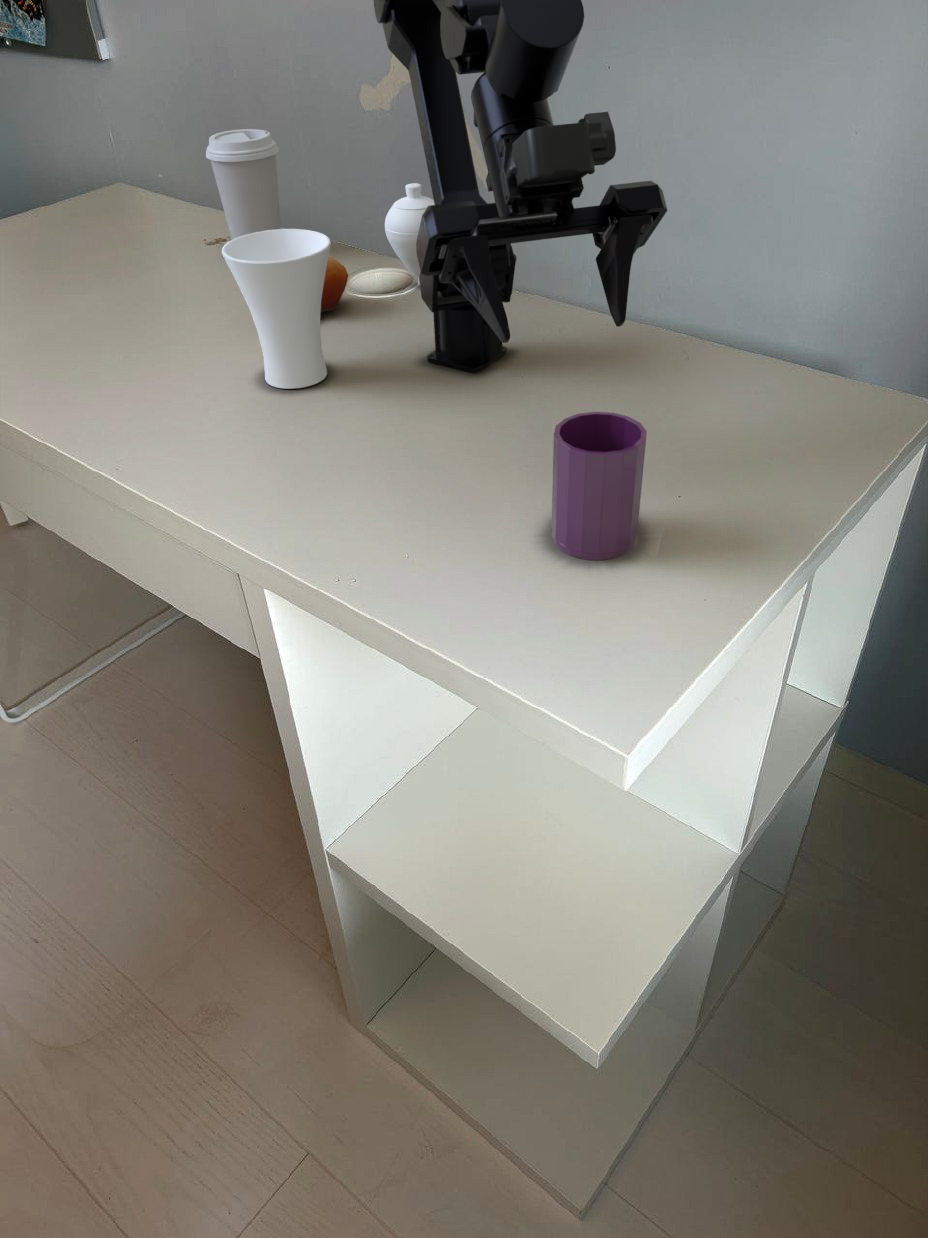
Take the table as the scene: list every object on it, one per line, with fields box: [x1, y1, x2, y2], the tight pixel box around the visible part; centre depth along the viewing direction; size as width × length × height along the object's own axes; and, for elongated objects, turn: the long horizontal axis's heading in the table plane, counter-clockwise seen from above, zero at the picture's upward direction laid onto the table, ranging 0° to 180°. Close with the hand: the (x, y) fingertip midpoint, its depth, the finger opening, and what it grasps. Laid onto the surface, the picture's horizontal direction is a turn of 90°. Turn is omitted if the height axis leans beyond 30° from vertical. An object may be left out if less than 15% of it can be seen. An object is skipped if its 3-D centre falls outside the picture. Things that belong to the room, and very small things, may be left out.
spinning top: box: [384, 182, 435, 286], centre depth 117 cm, size 8×8×12 cm
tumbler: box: [550, 411, 648, 561], centre depth 72 cm, size 7×7×9 cm
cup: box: [221, 228, 332, 390], centre depth 96 cm, size 10×10×14 cm
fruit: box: [321, 256, 349, 313], centre depth 113 cm, size 8×8×8 cm
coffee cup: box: [205, 128, 282, 240], centre depth 129 cm, size 10×10×15 cm
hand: (564, 332), depth 72 cm, fingers open, 9 cm apart
